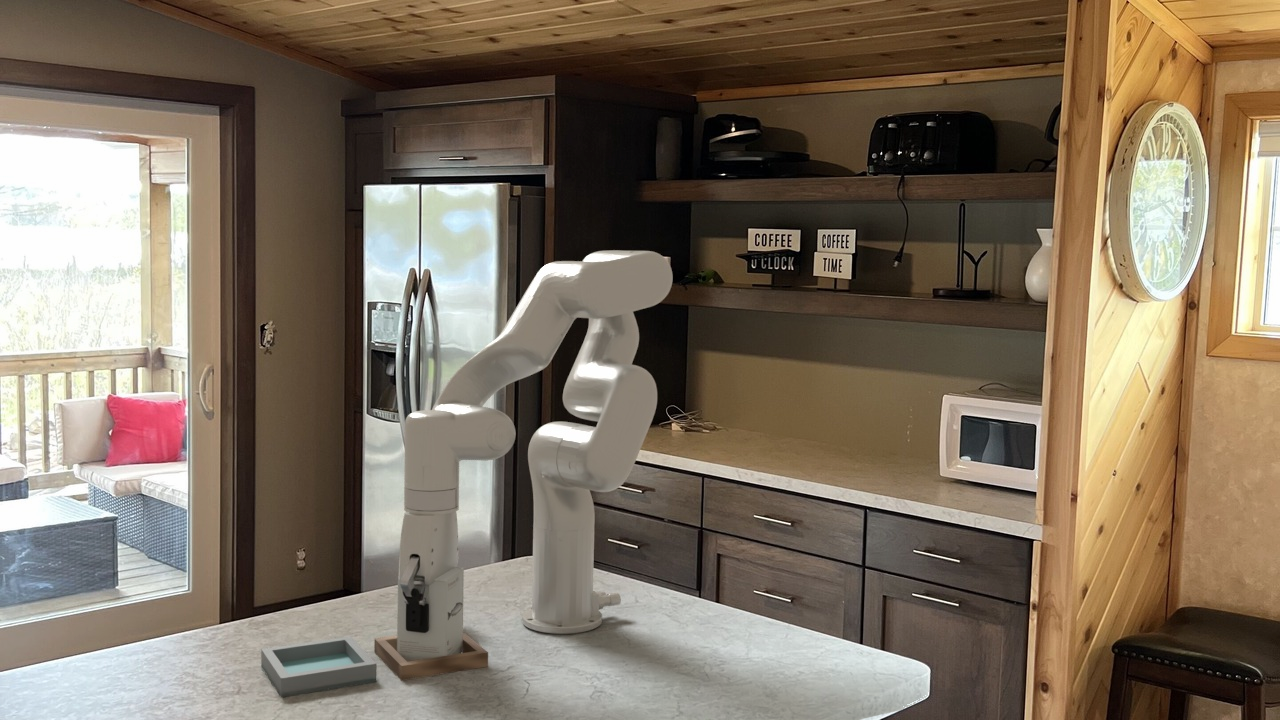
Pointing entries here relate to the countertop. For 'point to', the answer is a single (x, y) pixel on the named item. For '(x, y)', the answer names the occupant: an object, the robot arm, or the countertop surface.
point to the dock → (317, 666)
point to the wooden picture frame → (430, 659)
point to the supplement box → (435, 619)
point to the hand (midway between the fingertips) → (430, 621)
